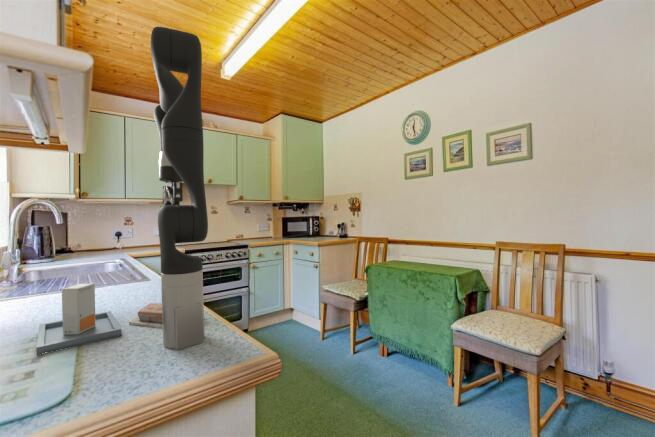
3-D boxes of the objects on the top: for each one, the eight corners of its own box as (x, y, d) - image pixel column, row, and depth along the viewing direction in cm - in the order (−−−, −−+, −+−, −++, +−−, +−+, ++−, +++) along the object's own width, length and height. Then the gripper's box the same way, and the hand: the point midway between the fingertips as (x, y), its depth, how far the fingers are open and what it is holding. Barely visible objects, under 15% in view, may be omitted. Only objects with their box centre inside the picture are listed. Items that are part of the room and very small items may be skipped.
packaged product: (204, 303, 93) (179, 314, 83) (205, 319, 93) (180, 332, 83) (156, 299, 98) (127, 309, 88) (156, 314, 98) (128, 326, 88)
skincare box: (78, 335, 80) (76, 288, 79) (62, 335, 80) (60, 288, 80) (96, 326, 86) (95, 283, 86) (81, 326, 86) (80, 283, 86)
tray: (121, 335, 80) (121, 328, 80) (36, 355, 70) (36, 347, 70) (110, 316, 95) (110, 311, 95) (39, 330, 85) (39, 324, 85)
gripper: (154, 168, 105) (154, 216, 105) (165, 161, 94) (165, 215, 94) (177, 171, 110) (177, 217, 110) (191, 164, 99) (191, 215, 99)
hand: (172, 216), depth 102 cm, fingers open, 8 cm apart
